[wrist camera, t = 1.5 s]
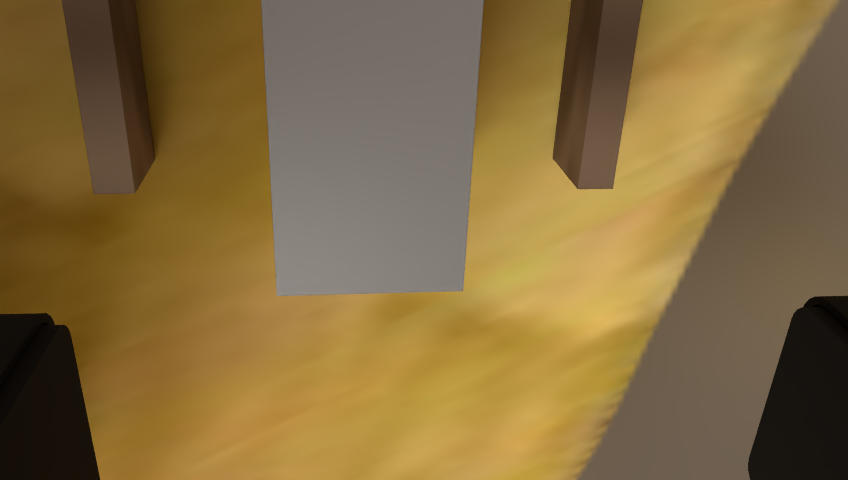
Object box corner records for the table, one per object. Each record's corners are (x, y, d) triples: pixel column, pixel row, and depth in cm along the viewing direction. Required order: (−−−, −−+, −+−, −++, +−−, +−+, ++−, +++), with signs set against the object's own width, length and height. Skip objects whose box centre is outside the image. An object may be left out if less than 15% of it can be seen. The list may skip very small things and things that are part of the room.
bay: (584, 158, 27) (629, 206, 23) (118, 160, 25) (79, 213, 21) (624, -127, 23) (686, -128, 19) (71, -153, 21) (14, -159, 17)
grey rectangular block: (431, 196, 28) (463, 291, 21) (287, 197, 27) (276, 295, 21) (442, -41, 24) (484, -12, 18) (276, -46, 23) (260, -17, 17)
